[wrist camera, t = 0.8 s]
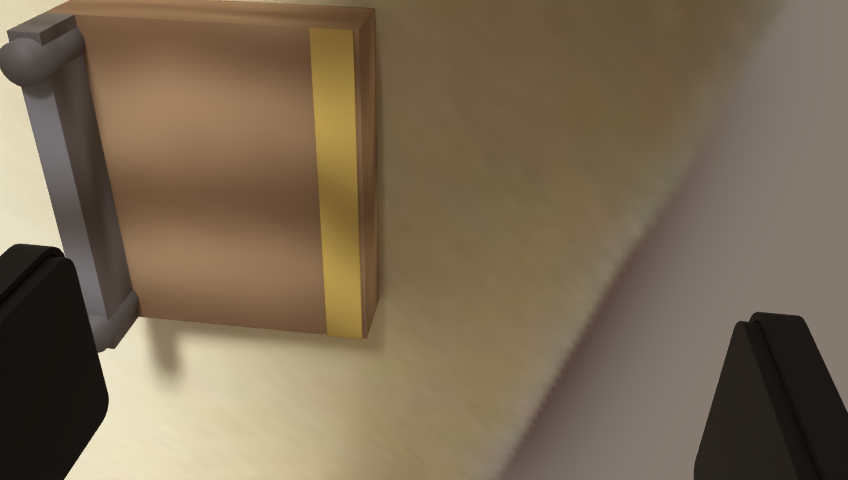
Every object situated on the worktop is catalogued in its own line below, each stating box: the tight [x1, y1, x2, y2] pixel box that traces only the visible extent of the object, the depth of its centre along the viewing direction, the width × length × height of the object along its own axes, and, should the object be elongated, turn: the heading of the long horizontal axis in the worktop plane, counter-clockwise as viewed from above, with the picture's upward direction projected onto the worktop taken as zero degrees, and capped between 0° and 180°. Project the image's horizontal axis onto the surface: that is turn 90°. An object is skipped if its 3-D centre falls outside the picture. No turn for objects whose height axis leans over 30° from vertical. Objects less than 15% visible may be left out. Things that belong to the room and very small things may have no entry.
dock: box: [0, 0, 379, 353], centre depth 32 cm, size 14×12×6 cm
